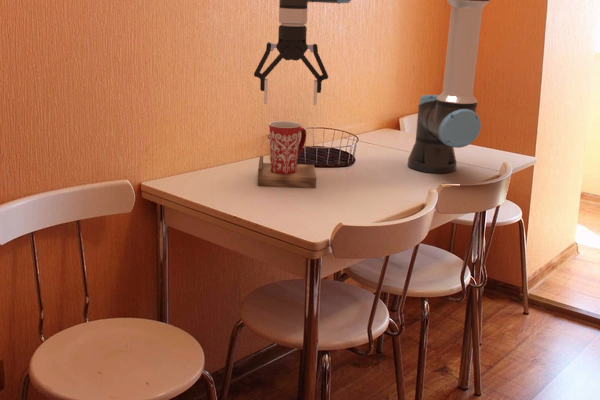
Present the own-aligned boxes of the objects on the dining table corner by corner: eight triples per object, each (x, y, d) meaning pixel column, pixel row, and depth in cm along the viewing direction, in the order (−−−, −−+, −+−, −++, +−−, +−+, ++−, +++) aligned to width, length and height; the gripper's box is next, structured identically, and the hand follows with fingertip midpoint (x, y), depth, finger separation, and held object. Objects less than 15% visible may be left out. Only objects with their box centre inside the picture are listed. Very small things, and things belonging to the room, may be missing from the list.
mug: (282, 176, 192) (284, 128, 188) (260, 169, 199) (262, 122, 194) (314, 170, 201) (317, 123, 197) (293, 163, 207) (295, 118, 203)
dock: (313, 174, 207) (314, 158, 206) (315, 188, 194) (316, 170, 192) (259, 172, 207) (259, 156, 205) (257, 186, 193) (258, 168, 192)
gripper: (338, 25, 191) (334, 102, 198) (246, 22, 190) (245, 99, 197) (340, 27, 184) (336, 107, 191) (245, 24, 183) (244, 104, 190)
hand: (290, 103), depth 194 cm, fingers open, 13 cm apart
